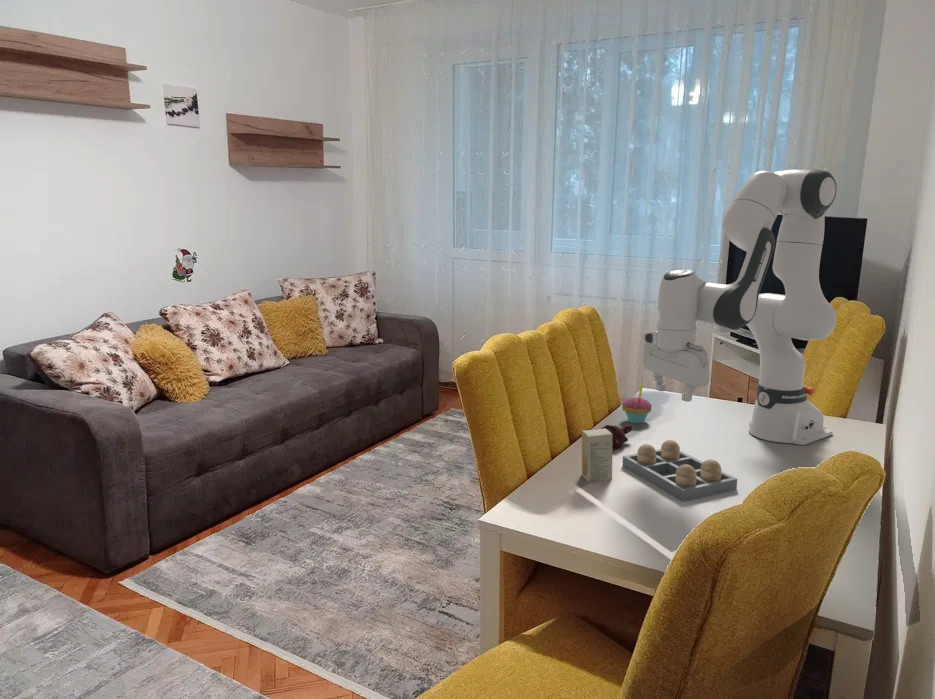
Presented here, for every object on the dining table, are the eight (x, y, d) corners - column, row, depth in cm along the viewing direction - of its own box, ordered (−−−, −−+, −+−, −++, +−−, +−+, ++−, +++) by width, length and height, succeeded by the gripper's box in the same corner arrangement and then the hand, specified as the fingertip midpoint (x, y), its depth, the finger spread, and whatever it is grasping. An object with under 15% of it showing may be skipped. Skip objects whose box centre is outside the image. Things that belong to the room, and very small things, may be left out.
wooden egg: (670, 459, 168) (672, 436, 167) (682, 466, 164) (684, 442, 163) (656, 462, 166) (657, 439, 165) (668, 469, 162) (669, 444, 161)
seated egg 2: (686, 485, 153) (687, 460, 152) (699, 493, 149) (701, 466, 148) (670, 489, 151) (672, 463, 150) (684, 496, 147) (685, 470, 146)
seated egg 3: (710, 480, 155) (712, 455, 154) (724, 487, 151) (726, 461, 150) (695, 483, 154) (697, 458, 152) (709, 491, 150) (710, 465, 148)
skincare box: (605, 476, 161) (607, 427, 159) (612, 483, 157) (614, 433, 155) (580, 478, 160) (581, 429, 158) (586, 485, 156) (587, 435, 154)
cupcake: (632, 415, 207) (634, 377, 204) (656, 421, 200) (658, 382, 198) (616, 421, 201) (617, 382, 198) (640, 428, 195) (642, 388, 192)
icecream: (605, 437, 169) (643, 429, 178) (585, 423, 175) (623, 416, 184) (598, 460, 172) (636, 452, 181) (578, 446, 177) (616, 438, 186)
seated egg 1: (647, 464, 165) (649, 440, 164) (659, 470, 162) (660, 446, 160) (633, 467, 164) (634, 443, 163) (644, 473, 160) (645, 449, 159)
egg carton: (671, 459, 171) (672, 446, 170) (736, 493, 151) (737, 478, 150) (622, 469, 165) (622, 456, 164) (682, 505, 145) (683, 490, 144)
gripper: (718, 346, 150) (714, 405, 153) (659, 330, 169) (657, 383, 172) (695, 349, 148) (692, 409, 151) (638, 333, 166) (636, 386, 169)
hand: (673, 395), depth 162 cm, fingers open, 8 cm apart
